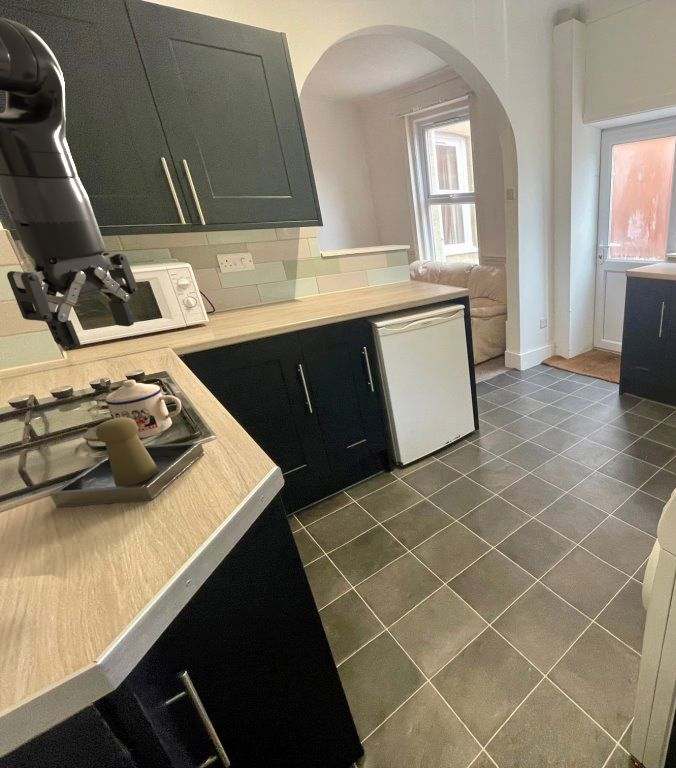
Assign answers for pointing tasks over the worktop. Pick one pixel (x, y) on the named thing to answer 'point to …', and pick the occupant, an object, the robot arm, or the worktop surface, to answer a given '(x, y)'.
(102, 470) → the dark grey square tray
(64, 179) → the robot arm
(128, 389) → the teacup with lid
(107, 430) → the cork
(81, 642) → the worktop surface
